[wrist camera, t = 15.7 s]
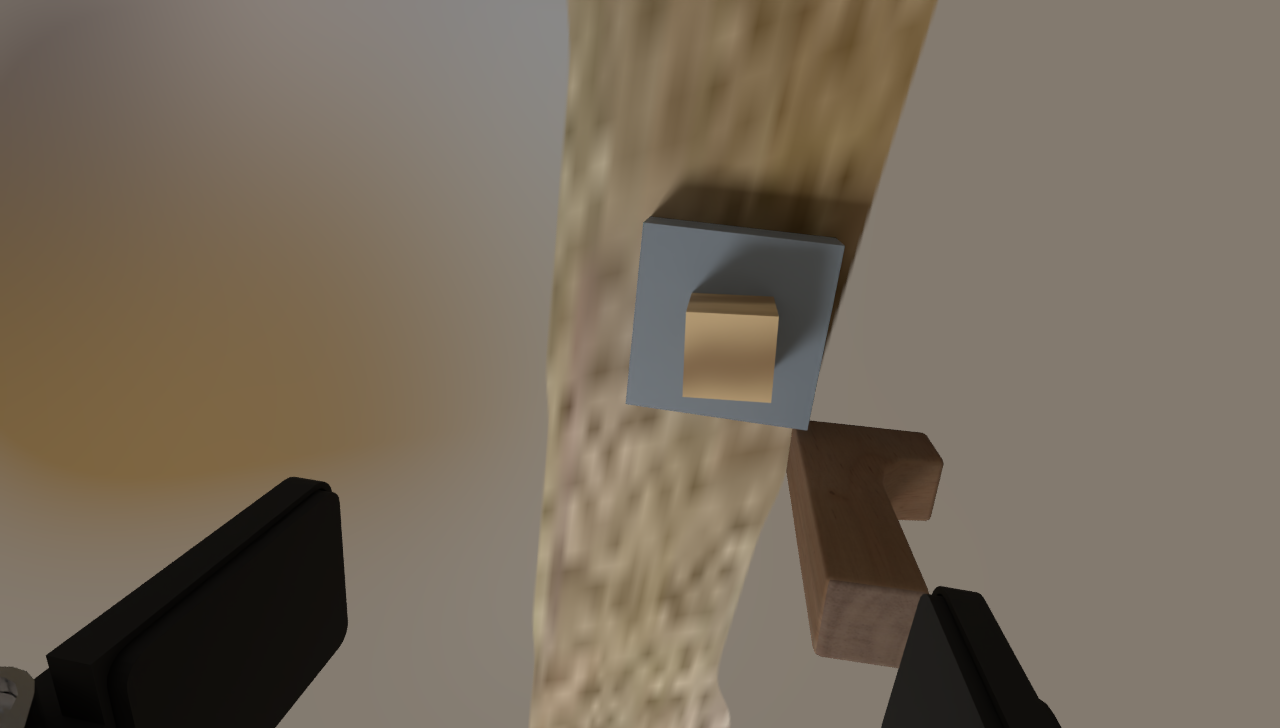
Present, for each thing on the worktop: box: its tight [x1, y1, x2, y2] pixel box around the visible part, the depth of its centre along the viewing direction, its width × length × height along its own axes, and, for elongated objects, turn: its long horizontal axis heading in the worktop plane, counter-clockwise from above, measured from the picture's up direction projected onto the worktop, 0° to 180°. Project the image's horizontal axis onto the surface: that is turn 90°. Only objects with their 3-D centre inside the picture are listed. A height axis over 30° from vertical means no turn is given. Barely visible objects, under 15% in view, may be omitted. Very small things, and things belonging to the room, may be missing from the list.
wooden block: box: [786, 421, 943, 668], centre depth 37 cm, size 9×4×18 cm, turn 87°
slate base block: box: [626, 217, 845, 430], centre depth 42 cm, size 12×12×4 cm
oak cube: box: [682, 293, 779, 403], centre depth 38 cm, size 5×5×5 cm
